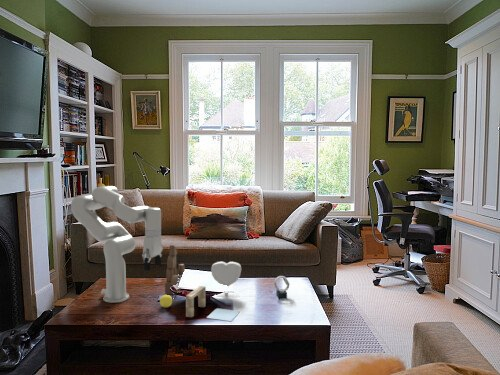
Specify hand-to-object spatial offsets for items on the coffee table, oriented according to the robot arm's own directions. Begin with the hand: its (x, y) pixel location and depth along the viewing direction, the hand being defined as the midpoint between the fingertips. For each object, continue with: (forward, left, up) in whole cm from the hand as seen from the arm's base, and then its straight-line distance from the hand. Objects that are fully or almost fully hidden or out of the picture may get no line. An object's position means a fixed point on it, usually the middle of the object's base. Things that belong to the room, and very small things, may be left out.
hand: (152, 267), depth 196 cm
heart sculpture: (+29, +24, -19) cm, 42 cm away
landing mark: (+37, 0, -19) cm, 42 cm away
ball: (+7, 0, -16) cm, 17 cm away
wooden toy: (-1, +24, -19) cm, 31 cm away
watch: (+57, +32, -19) cm, 68 cm away
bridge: (+23, 0, -19) cm, 30 cm away
